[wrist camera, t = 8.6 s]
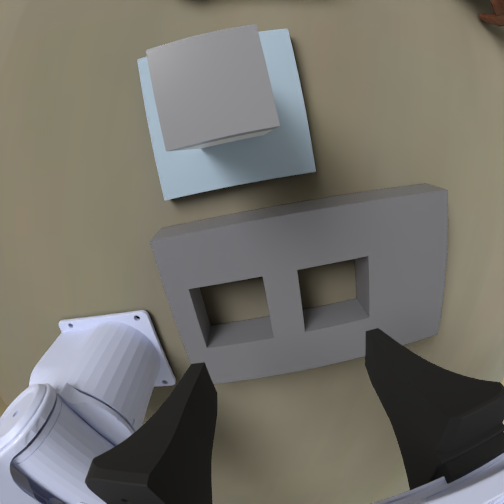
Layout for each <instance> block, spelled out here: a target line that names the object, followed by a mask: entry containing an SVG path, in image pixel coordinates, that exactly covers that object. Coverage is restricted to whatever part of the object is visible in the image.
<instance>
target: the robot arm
mask: <svg viewBox="0 0 504 504" xmlns="http://www.w3.org/2000/svg"><path fill="white" fill-rule="evenodd" d="M136 316H139V317H140V319H138V318H136ZM70 323H71V324H72V325H73V326H72V325H71V324H70ZM59 327H60V329H61V331H62V333H61V334H60V335H59V337H58V338H57V339H56V340H55V342H54V343H53V344H52V345H51V347H50V348H49V349H48V350H47V352H46V353H45V354H44V356H43V357H42V358H41V359H40V361H39V362H38V363H37V365H36V366H35V368H34V369H33V371H32V374H31V377H30V383H29V387H28V388H27V389H26V390H24V391H23V392H22V393H21V394H20V395H19V396H18V397H17V398H16V399H15V400H14V401H13V402H12V403H11V404H10V406H9V407H8V408H7V409H6V411H5V412H4V413H3V415H2V416H1V418H0V504H212V487H211V457H212V447H213V440H214V432H215V425H216V417H217V392H216V389H215V387H214V385H213V382H212V380H211V377H210V375H209V372H208V370H207V367H206V365H205V362H203V363H194V364H191V366H190V367H189V368H188V370H187V371H186V373H185V374H184V376H183V377H182V379H181V380H180V382H179V383H178V385H177V386H176V387H175V389H174V390H173V392H172V393H171V394H170V396H169V397H168V398H167V400H166V401H165V402H164V403H163V405H162V406H161V407H160V408H159V409H158V411H157V412H156V413H155V414H154V415H153V416H152V417H151V418H150V419H149V420H148V421H147V422H146V423H145V424H144V425H143V426H142V424H143V420H144V417H145V414H146V410H147V407H148V404H149V401H150V397H151V394H152V391H153V388H154V387H156V386H172V385H174V384H175V382H176V379H175V377H174V374H173V372H172V370H171V367H170V365H169V363H168V360H167V358H166V356H165V353H164V351H163V349H162V346H161V344H160V341H159V339H158V336H157V334H156V331H155V329H154V326H153V323H152V321H151V318H150V315H149V314H148V312H147V311H145V310H139V311H132V312H124V313H117V314H109V315H101V316H93V317H84V318H75V319H67V320H61V321H60V322H59ZM365 366H366V368H367V371H368V374H369V377H370V380H371V383H372V385H373V387H374V389H375V391H376V393H377V395H378V397H379V399H380V401H381V403H382V405H383V407H384V409H385V411H386V413H387V415H388V417H389V419H390V421H391V424H392V426H393V429H394V432H395V435H396V438H397V441H398V444H399V447H400V451H401V454H402V457H403V461H404V465H405V469H406V473H407V477H408V482H409V487H410V491H407V492H404V493H402V494H399V495H396V496H393V497H390V498H387V499H384V500H381V501H378V502H374V503H371V504H503V503H504V425H503V423H502V422H503V420H504V386H503V385H502V384H501V383H500V382H492V381H485V380H479V379H475V378H470V377H466V376H463V375H460V374H457V373H454V372H451V371H448V370H446V369H443V368H441V367H439V366H437V365H435V364H432V363H430V362H428V361H427V360H425V359H423V358H421V357H420V356H418V355H416V354H414V353H413V352H411V351H410V350H408V349H407V348H405V347H404V346H402V345H401V344H400V343H398V342H397V341H395V340H394V339H393V338H391V337H390V336H389V335H387V334H386V333H384V332H383V331H382V330H380V329H379V328H376V329H372V330H369V331H366V352H365ZM164 380H165V381H164ZM166 381H167V382H166Z"/></svg>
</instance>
